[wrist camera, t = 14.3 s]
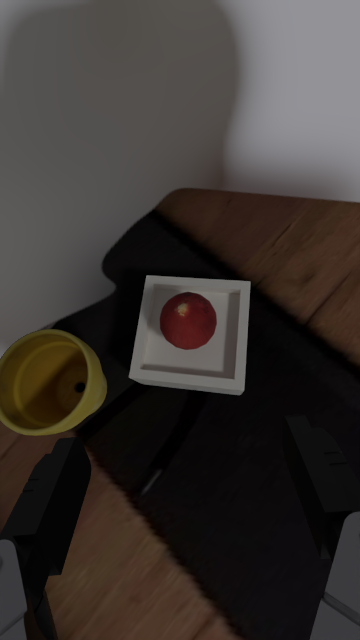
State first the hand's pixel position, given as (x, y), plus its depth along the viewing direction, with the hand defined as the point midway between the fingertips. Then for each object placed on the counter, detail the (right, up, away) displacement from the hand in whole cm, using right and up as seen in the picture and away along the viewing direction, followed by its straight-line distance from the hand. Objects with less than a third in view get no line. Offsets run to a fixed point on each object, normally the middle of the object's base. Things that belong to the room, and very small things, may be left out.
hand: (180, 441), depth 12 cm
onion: (+1, +3, +22) cm, 23 cm away
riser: (+2, +2, +27) cm, 27 cm away
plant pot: (-12, -4, +27) cm, 30 cm away
